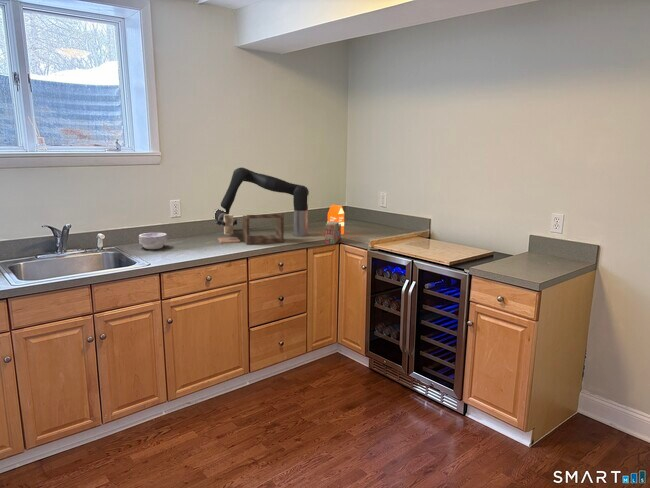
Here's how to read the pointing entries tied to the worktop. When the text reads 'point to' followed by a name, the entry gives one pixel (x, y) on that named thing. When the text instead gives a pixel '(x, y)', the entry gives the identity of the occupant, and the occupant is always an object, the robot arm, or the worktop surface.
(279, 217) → the walnut bay
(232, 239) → the terracotta tile
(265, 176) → the robot arm
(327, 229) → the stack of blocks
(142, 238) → the paper bowls
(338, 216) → the orange juice
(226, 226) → the maple block
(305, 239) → the worktop surface
